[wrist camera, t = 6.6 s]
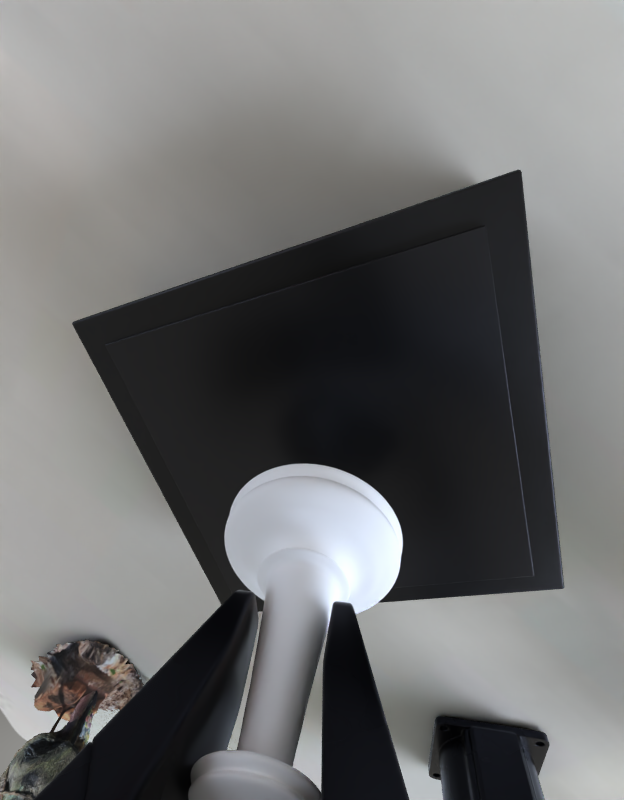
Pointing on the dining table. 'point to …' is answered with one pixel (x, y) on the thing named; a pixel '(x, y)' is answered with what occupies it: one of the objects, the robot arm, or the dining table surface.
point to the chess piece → (295, 611)
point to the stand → (358, 388)
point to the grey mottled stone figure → (68, 710)
